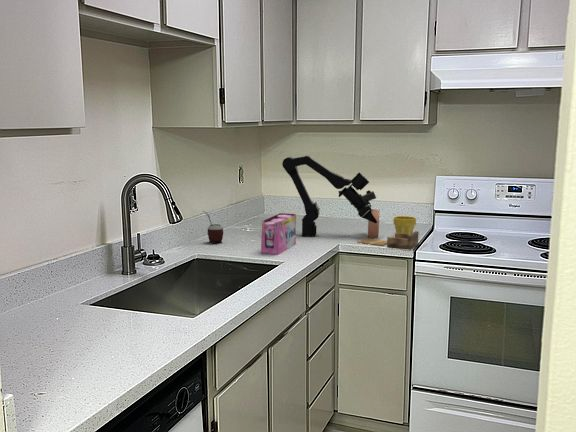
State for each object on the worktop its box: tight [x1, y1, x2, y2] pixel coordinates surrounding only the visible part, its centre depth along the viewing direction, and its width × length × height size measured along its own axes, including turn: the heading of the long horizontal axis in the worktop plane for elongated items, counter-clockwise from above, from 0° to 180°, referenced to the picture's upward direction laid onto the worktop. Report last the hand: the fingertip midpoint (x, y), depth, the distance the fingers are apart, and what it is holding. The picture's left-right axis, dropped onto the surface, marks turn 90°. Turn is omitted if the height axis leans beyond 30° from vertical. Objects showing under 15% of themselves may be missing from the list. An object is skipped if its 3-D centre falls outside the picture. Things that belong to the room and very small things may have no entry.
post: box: [367, 208, 380, 239], centre depth 264 cm, size 5×5×13 cm
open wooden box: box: [386, 230, 420, 251], centre depth 247 cm, size 10×12×6 cm
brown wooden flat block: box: [356, 237, 387, 247], centre depth 254 cm, size 4×10×12 cm
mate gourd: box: [202, 210, 224, 245], centre depth 249 cm, size 8×8×15 cm
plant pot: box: [393, 215, 417, 234], centre depth 264 cm, size 10×10×10 cm
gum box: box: [260, 212, 297, 255], centre depth 240 cm, size 24×8×14 cm, turn 160°
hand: (376, 221), depth 264 cm, fingers open, 9 cm apart
